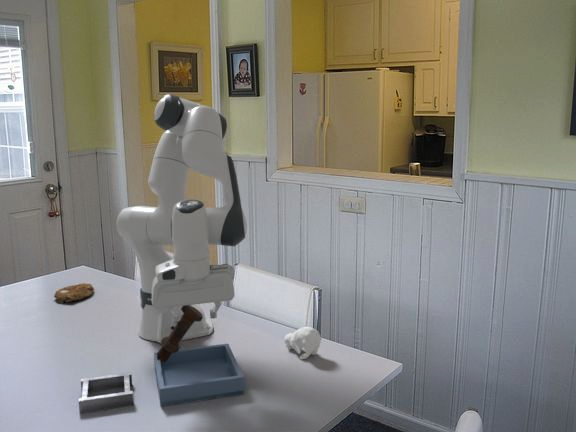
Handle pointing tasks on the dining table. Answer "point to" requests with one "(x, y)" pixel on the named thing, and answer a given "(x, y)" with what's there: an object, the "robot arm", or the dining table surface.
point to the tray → (198, 375)
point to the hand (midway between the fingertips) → (194, 319)
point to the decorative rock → (73, 293)
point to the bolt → (178, 332)
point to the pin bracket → (106, 400)
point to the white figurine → (304, 341)
